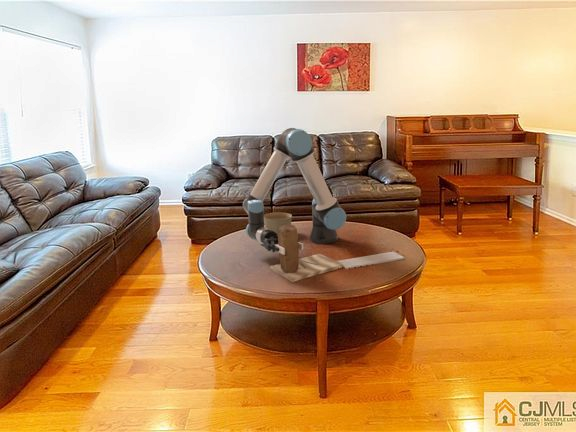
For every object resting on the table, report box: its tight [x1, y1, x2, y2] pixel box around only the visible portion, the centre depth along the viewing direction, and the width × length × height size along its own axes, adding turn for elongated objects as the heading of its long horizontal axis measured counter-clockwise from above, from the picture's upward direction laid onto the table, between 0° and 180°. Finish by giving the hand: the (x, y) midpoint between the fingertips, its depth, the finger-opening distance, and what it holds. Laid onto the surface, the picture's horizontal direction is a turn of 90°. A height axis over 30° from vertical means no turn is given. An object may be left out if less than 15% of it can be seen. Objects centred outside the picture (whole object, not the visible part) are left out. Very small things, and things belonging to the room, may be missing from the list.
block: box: [277, 224, 300, 272], centre depth 205 cm, size 11×8×20 cm
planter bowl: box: [264, 212, 293, 235], centre depth 262 cm, size 16×16×11 cm
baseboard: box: [336, 248, 405, 270], centre depth 219 cm, size 31×3×12 cm
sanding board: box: [269, 253, 343, 283], centre depth 211 cm, size 28×18×2 cm, turn 123°
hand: (293, 249), depth 201 cm, fingers closed on block, 9 cm apart
